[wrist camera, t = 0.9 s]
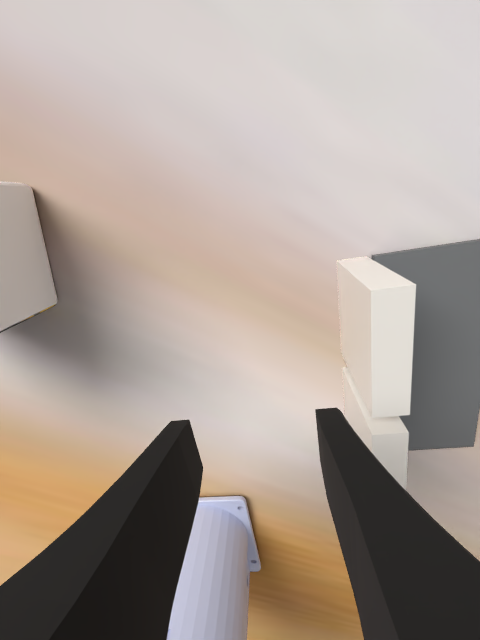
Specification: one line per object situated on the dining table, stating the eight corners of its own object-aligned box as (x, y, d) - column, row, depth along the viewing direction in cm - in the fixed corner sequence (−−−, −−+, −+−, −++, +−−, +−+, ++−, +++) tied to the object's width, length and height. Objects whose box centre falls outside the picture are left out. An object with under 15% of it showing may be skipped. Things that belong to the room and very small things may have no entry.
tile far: (369, 436, 21) (405, 521, 15) (345, 438, 21) (372, 522, 16) (368, 364, 19) (410, 432, 13) (341, 367, 19) (371, 435, 14)
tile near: (368, 350, 19) (411, 414, 13) (340, 353, 19) (371, 417, 13) (366, 255, 16) (417, 284, 11) (336, 260, 17) (370, 290, 11)
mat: (469, 441, 20) (473, 446, 20) (373, 448, 21) (375, 452, 21) (499, 236, 15) (505, 236, 15) (371, 255, 16) (374, 256, 16)
